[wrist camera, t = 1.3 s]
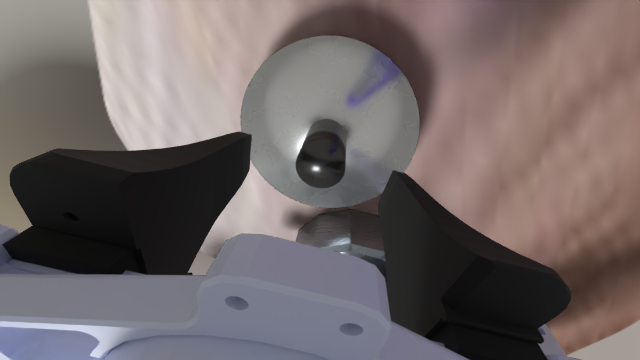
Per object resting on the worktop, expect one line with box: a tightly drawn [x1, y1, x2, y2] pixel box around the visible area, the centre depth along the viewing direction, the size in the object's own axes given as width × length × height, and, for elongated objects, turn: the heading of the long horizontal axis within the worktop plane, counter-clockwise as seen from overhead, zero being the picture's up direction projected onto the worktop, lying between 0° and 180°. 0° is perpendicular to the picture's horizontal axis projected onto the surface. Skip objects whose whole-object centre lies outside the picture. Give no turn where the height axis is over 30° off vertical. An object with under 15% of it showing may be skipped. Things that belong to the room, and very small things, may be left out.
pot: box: [296, 209, 387, 289], centre depth 22 cm, size 15×11×4 cm
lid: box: [241, 35, 420, 208], centre depth 15 cm, size 12×12×6 cm
